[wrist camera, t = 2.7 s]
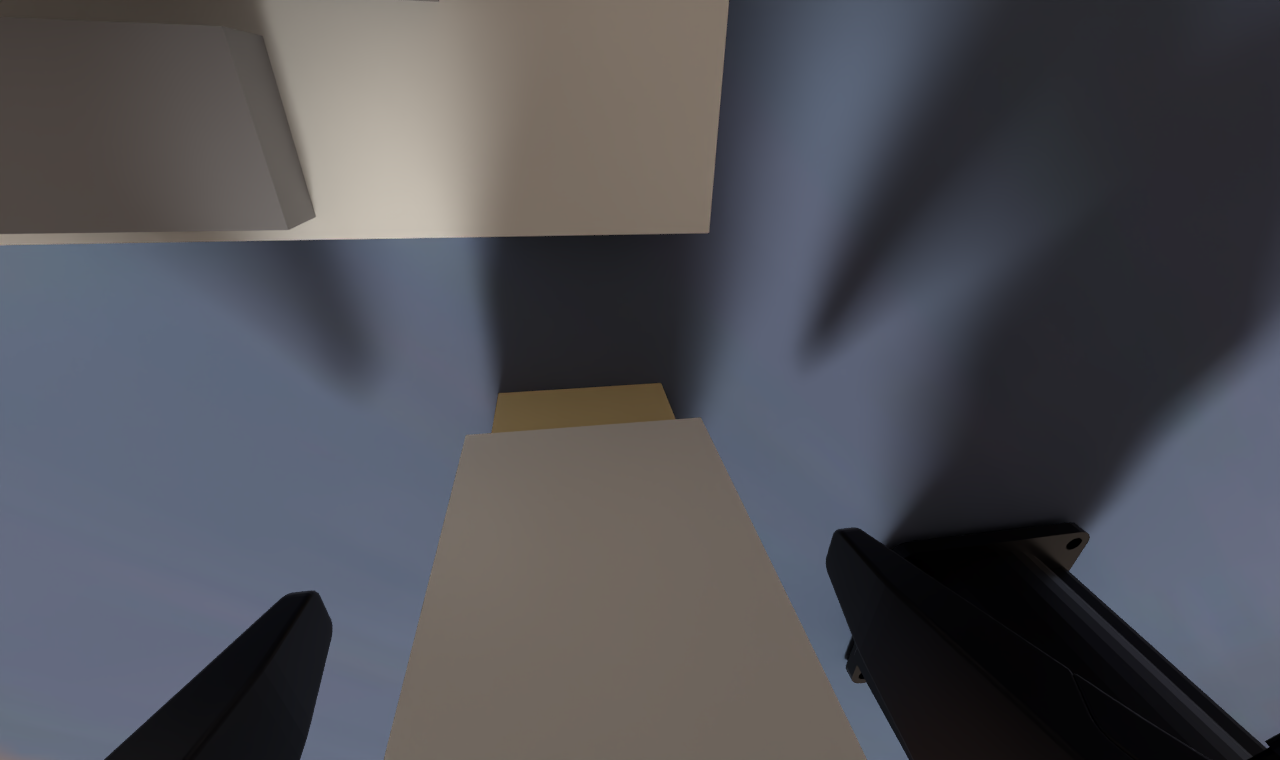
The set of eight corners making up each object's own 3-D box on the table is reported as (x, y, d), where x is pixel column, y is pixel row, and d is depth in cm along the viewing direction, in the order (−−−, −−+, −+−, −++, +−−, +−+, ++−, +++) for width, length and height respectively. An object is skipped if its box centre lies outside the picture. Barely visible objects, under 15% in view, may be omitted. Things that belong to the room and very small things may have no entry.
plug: (675, 365, 10) (884, 794, 4) (665, 528, 13) (785, 967, 6) (480, 377, 10) (344, 908, 3) (507, 546, 12) (460, 1049, 6)
